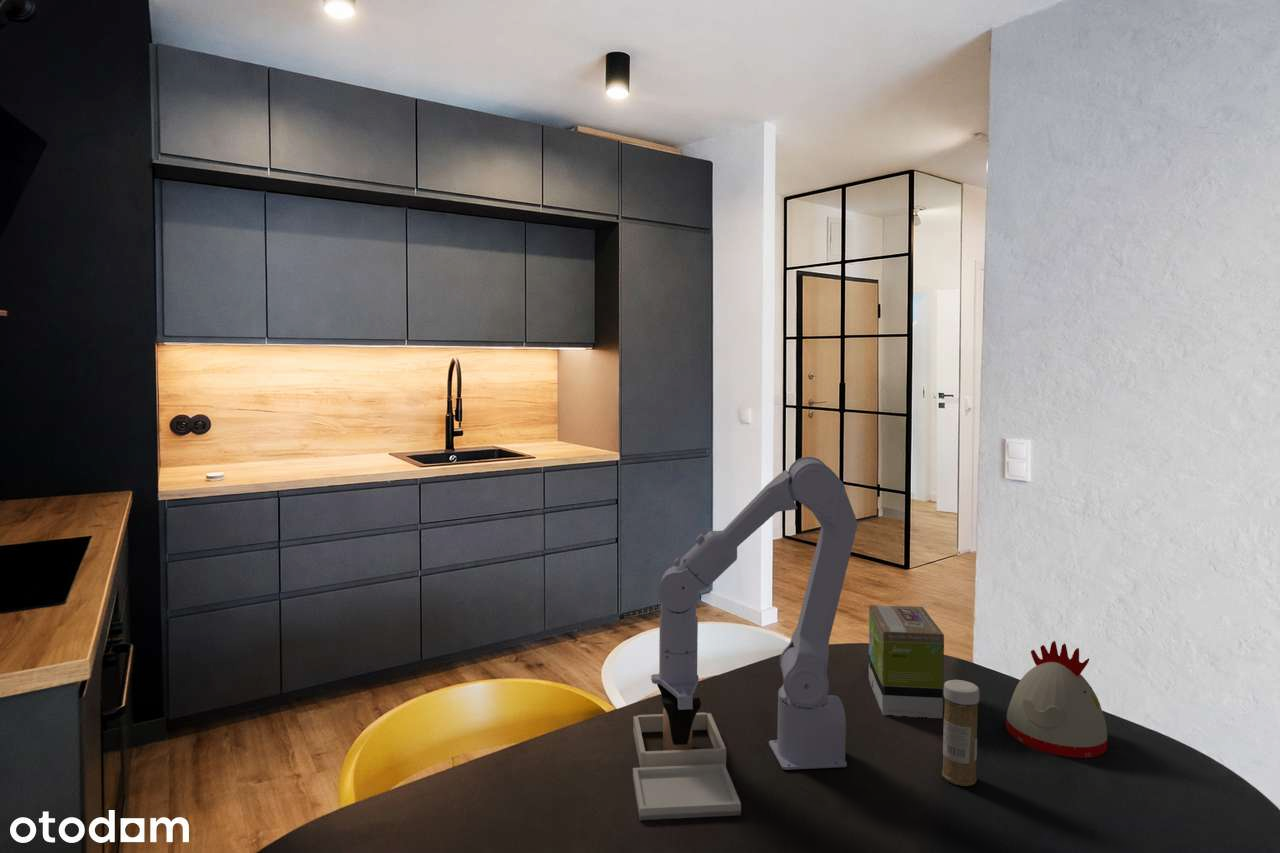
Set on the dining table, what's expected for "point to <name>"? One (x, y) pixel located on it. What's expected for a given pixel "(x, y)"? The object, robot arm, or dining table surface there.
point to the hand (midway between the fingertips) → (677, 735)
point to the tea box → (906, 661)
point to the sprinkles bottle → (960, 732)
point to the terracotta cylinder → (668, 739)
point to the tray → (685, 792)
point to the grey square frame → (678, 756)
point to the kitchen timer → (1057, 707)
